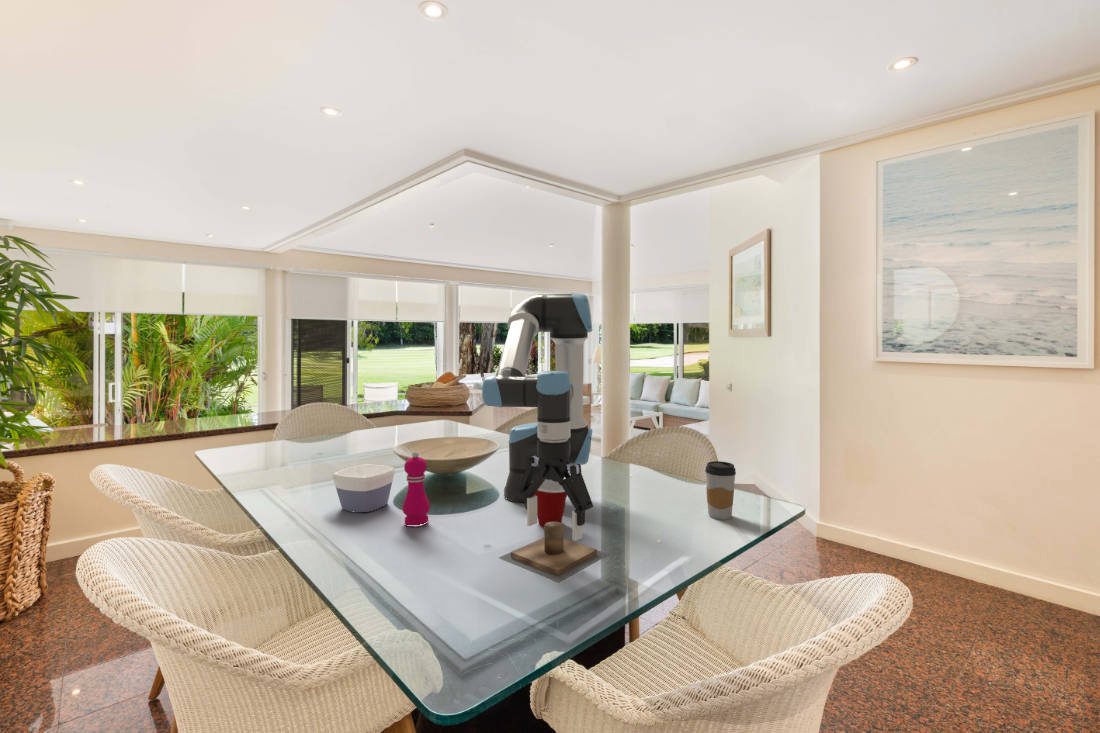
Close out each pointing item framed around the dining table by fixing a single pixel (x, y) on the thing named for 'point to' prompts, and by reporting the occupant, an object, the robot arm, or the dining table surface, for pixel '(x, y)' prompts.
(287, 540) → the dining table surface
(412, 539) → the dining table surface
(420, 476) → the pepper mill
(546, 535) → the lid
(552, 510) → the plastic cup
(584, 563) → the mat
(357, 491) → the bowl
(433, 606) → the dining table surface
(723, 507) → the coffee cup
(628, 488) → the dining table surface
